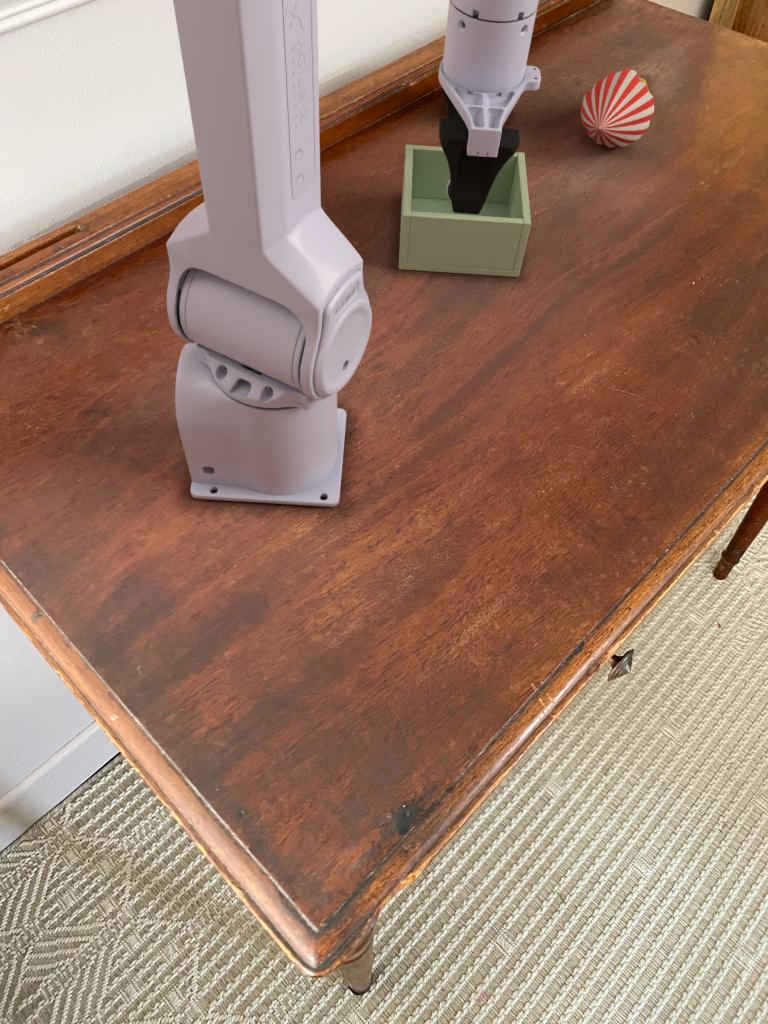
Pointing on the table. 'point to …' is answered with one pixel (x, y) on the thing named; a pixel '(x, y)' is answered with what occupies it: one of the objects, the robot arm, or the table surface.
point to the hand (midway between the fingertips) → (465, 187)
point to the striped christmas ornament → (617, 109)
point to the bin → (462, 219)
